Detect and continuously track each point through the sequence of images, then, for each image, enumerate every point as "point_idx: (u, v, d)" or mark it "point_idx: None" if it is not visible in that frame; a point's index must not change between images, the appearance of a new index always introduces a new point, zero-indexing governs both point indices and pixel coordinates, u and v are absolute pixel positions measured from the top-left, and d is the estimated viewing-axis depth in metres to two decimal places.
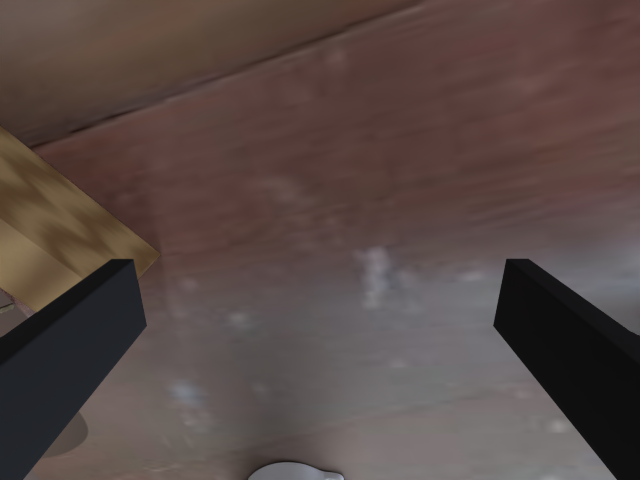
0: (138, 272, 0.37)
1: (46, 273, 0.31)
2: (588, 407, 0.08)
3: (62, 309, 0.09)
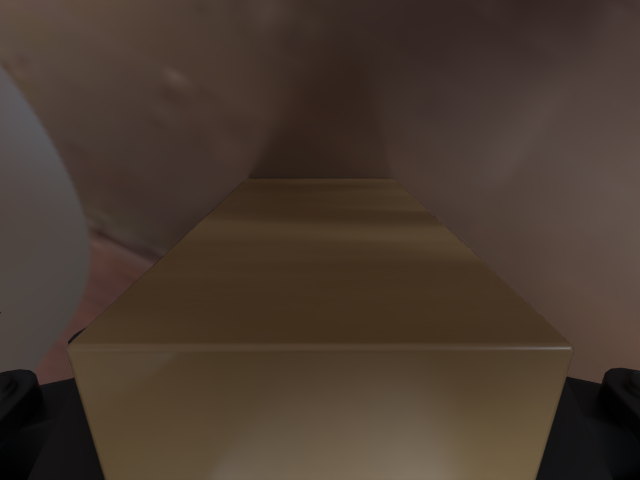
0: None
1: None
2: None
3: None
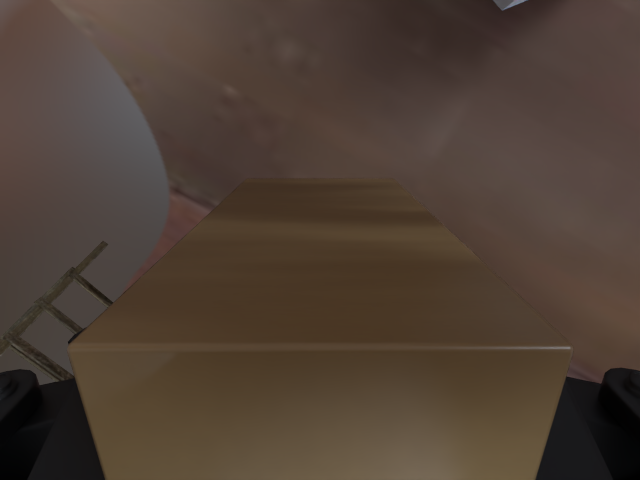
0: None
1: None
2: None
3: None
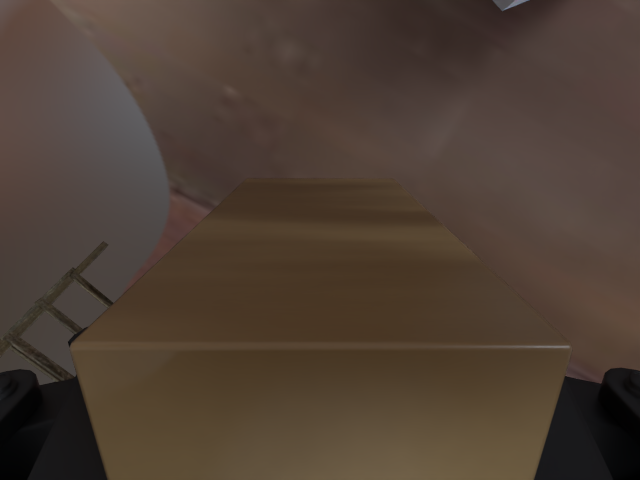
0: None
1: None
2: None
3: None
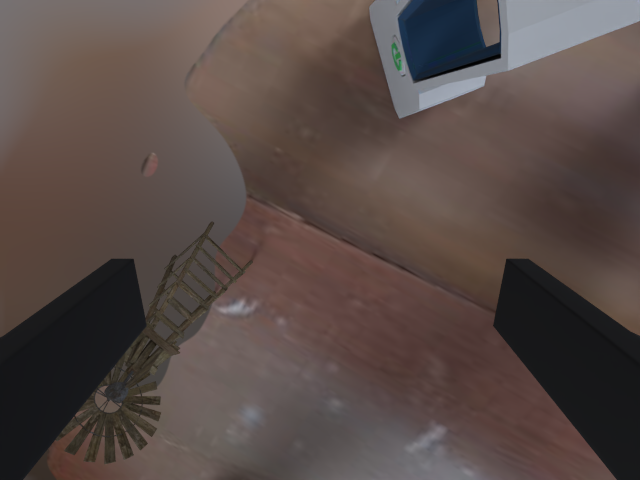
0: None
1: None
2: (587, 406, 0.08)
3: (62, 309, 0.09)
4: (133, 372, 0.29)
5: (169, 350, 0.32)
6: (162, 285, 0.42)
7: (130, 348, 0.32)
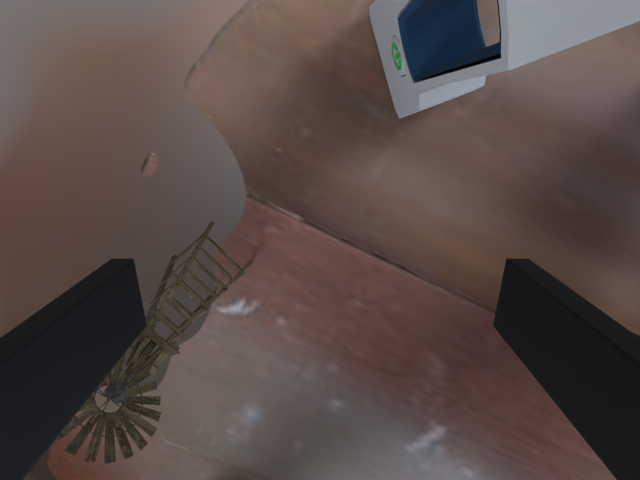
0: None
1: None
2: (587, 406, 0.08)
3: (62, 309, 0.09)
4: (133, 372, 0.29)
5: (169, 350, 0.32)
6: (162, 285, 0.42)
7: (130, 348, 0.32)
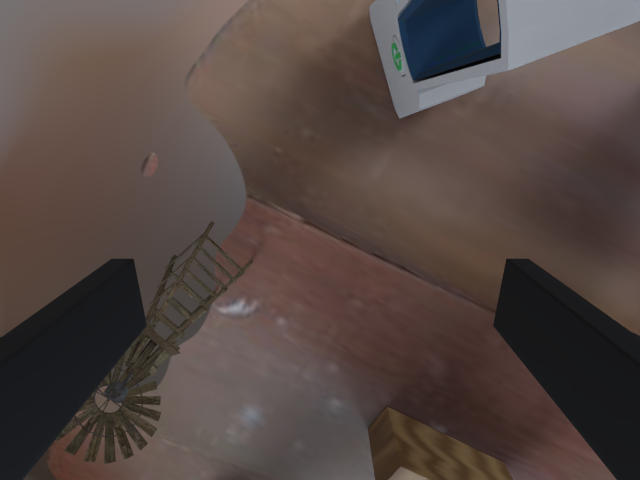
0: None
1: None
2: (587, 406, 0.08)
3: (62, 309, 0.09)
4: (133, 372, 0.29)
5: (169, 350, 0.32)
6: (162, 285, 0.42)
7: (130, 348, 0.32)
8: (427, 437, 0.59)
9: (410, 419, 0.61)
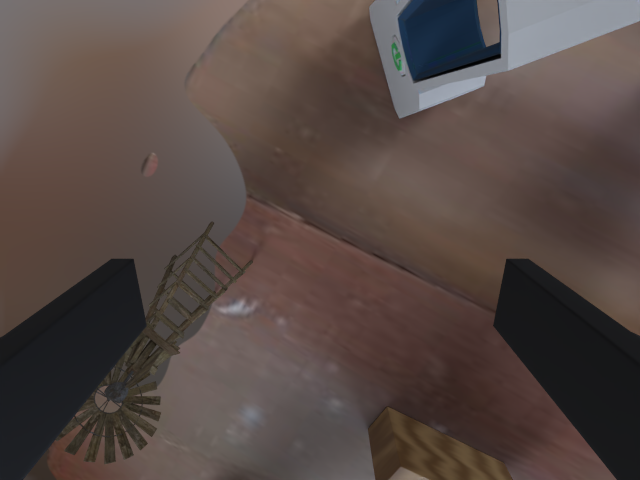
0: None
1: None
2: (587, 406, 0.08)
3: (62, 309, 0.09)
4: (133, 372, 0.29)
5: (169, 350, 0.32)
6: (162, 285, 0.42)
7: (130, 348, 0.32)
8: (427, 437, 0.59)
9: (410, 419, 0.61)
